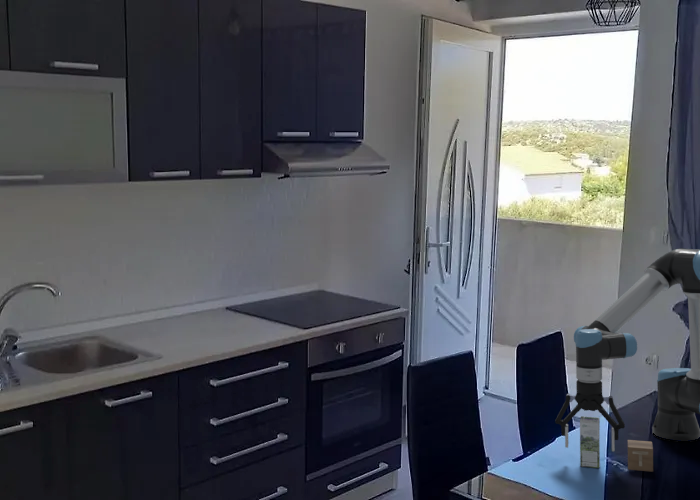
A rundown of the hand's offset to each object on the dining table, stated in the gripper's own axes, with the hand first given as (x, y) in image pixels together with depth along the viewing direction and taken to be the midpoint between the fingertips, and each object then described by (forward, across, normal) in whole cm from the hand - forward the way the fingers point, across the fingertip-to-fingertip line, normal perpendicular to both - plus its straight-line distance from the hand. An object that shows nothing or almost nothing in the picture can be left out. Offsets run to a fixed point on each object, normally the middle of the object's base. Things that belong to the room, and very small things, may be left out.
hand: (589, 448), depth 227 cm
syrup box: (+5, 0, 0) cm, 5 cm away
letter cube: (+5, +14, +2) cm, 16 cm away
